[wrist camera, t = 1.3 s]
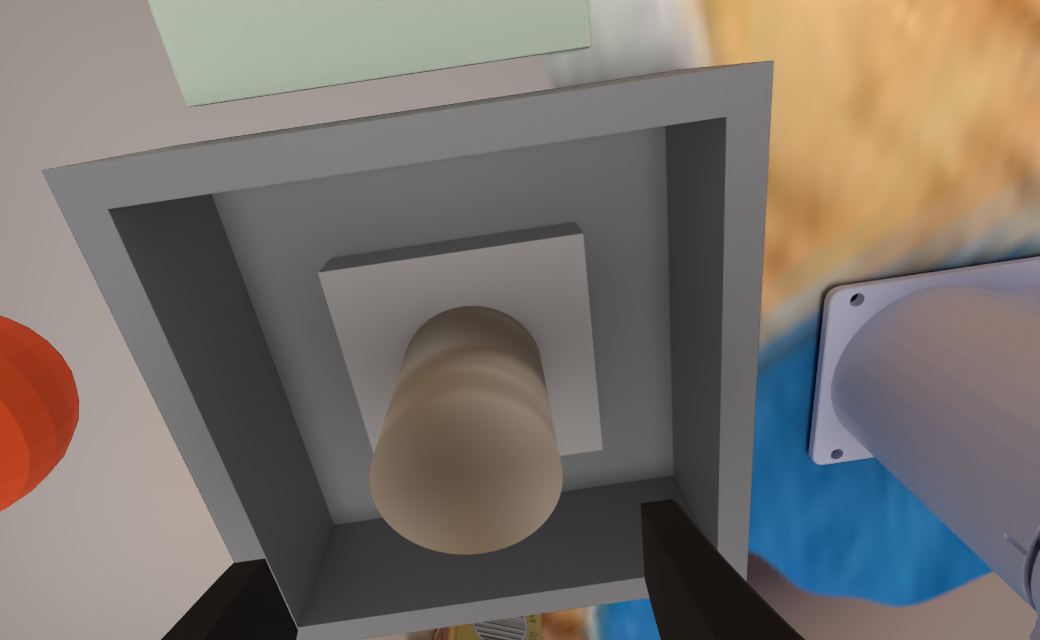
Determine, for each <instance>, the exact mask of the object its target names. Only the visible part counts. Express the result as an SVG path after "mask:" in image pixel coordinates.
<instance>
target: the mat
mask: <svg viewBox="0 0 1040 640" xmlns="http://www.w3.org/2000/svg"><path fill="white" fill-rule="evenodd" d="M148 2H149V5H150V8H151V10H152V13H153V16H154V19H155V22H156V24H157V27H158V30H159V32H160V35H161V38H162V40H163V43H164V46H165V49H166V52H167V54H168V57H169V60H170V62H171V65H172V68H173V71H174V73H175V76H176V79H177V82H178V84H179V87H180V90H181V93H182V95H183V98H184V101H185V104H186V106H187V107H192V106H201V105H208V104H214V103H221V102H227V101H235V100H241V99H248V98H255V97H261V96H268V95H274V94H281V93H288V92H295V91H301V90H308V89H314V88H321V87H328V86H335V85H341V84H348V83H355V82H360V81H367V80H374V79H381V78H388V77H394V76H401V75H408V74H414V73H420V72H428V71H434V70H441V69H448V68H454V67H461V66H467V65H474V64H481V63H487V62H494V61H501V60H508V59H514V58H521V57H528V56H534V55H541V54H548V53H554V52H561V51H568V50H574V49H581V48H588V47H590V46H591V34H590V20H589V7H588V0H148Z"/></svg>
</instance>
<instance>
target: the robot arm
mask: <svg viewBox="0 0 1040 640" xmlns="http://www.w3.org/2000/svg"><path fill="white" fill-rule="evenodd" d="M857 293H858V296H857V298H856V299H855V300H854V301H853V302H850V300H851V297H852V296H853V295H854V294H857ZM836 449H837V450H836ZM834 450H836V451H835V452H833V451H834ZM832 452H833V453H832ZM809 456H810V458H811V459H812V460H813V461H814V462H815V463H816V464H819V465H824V464H831V463H838V462H845V461H852V460H859V459H866V458H872V457H875V458H876V459H877V460H878V461H879V462H880V463H881V464H882V465H883V466H884V467H885V468H887V469H888V470H889V471H890V472H891V473H892V474H893V475H894V476H895V477H896V478H897V479H898V480H899V481H900V482H901V483H902V484H903V485H904V486H905V487H906V488H907V489H908V490H910V491H911V492H912V493H913V494H914V495H915V496H916V497H917V498H918V499H919V500H920V501H921V502H922V503H923V504H924V505H925V506H926V507H927V508H928V509H929V510H930V511H931V512H933V513H934V514H935V515H936V516H937V517H938V518H939V519H940V520H941V521H942V522H943V523H944V524H945V525H946V526H947V527H948V528H949V529H950V530H951V531H952V532H953V533H954V534H956V535H957V536H958V537H959V538H960V539H961V540H962V541H963V542H964V543H965V544H966V545H967V546H968V547H969V548H970V549H971V550H972V551H973V552H974V553H975V554H976V555H977V556H979V557H980V558H981V559H982V560H983V561H984V562H985V563H986V564H987V565H988V566H989V567H990V568H991V569H992V570H993V571H994V572H995V573H996V574H997V575H999V576H1000V577H1001V578H1002V579H1003V580H1004V581H1005V582H1006V583H1007V584H1008V585H1009V586H1010V587H1011V588H1012V589H1013V590H1014V591H1015V592H1016V593H1017V594H1018V595H1019V596H1020V597H1022V599H1024V600H1025V601H1026V602H1027V603H1028V604H1029V605H1030V606H1031V607H1032V608H1033V609H1034V610H1035V611H1036V612H1037V614H1038V619H1037V622H1036V626H1035V628H1034V630H1033V632H1032V633H1031V635H1030V640H1040V256H1038V257H1032V258H1025V259H1018V260H1011V261H1004V262H998V263H991V264H984V265H977V266H971V267H964V268H957V269H950V270H943V271H937V272H930V273H923V274H916V275H910V276H903V277H896V278H889V279H882V280H876V281H869V282H862V283H855V284H849V285H842V286H837V287H834V288H833V289H831V290H830V291H829V292H828V294H827V295H826V297H825V301H824V310H823V320H822V329H821V339H820V349H819V358H818V368H817V377H816V387H815V396H814V406H813V415H812V425H811V434H810V444H809ZM640 505H641V523H642V540H643V557H644V575H645V583H646V586H647V590H648V594H649V598H650V602H651V605H652V609H653V613H654V616H655V620H656V624H657V627H658V631H659V635H660V638H661V640H805V639H804V638H803V637H802V636H800V635H799V634H798V633H797V632H796V631H795V630H794V629H793V628H792V627H791V626H790V625H789V624H788V623H787V622H786V621H785V620H784V619H783V618H782V617H781V616H779V614H778V613H777V612H775V610H774V609H773V608H772V607H771V606H770V605H768V604H767V602H766V601H764V600H763V599H762V598H761V596H760V595H759V594H758V593H757V592H756V591H755V590H754V589H753V588H752V587H751V586H750V585H749V584H748V583H747V582H746V581H745V580H744V579H743V578H742V577H741V575H740V574H739V573H738V572H737V571H736V570H735V569H734V568H733V567H732V566H731V565H730V564H729V563H728V561H727V560H726V559H725V558H724V557H723V556H722V555H721V554H720V553H719V551H718V550H717V549H716V548H715V547H714V546H713V545H712V543H711V542H710V541H709V540H708V539H707V538H706V537H705V535H704V534H703V533H702V532H701V531H700V530H699V528H698V527H697V526H696V525H695V523H694V522H693V521H692V520H691V519H690V517H689V516H688V515H687V514H686V512H685V511H684V510H683V509H682V507H681V506H680V505H679V503H678V502H676V501H675V500H673V499H667V500H660V501H654V502H647V503H640ZM297 634H298V629H297V627H296V625H295V623H294V620H293V618H292V616H291V614H290V612H289V609H288V607H287V605H286V603H285V601H284V598H283V596H282V594H281V592H280V590H279V588H278V585H277V583H276V581H275V579H274V577H273V574H272V572H271V570H270V568H269V566H268V563H267V561H266V559H265V558H264V559H257V560H250V561H243V562H237V563H233V564H232V565H231V566H230V567H229V568H228V569H227V570H226V571H225V572H224V573H223V574H222V575H221V576H220V577H219V578H218V579H217V580H216V582H215V583H214V584H213V585H212V586H211V587H210V588H209V589H208V590H207V591H206V592H205V593H204V594H203V596H201V598H200V599H199V600H198V601H197V602H196V603H195V604H194V605H193V606H192V607H191V608H190V610H189V611H187V613H186V614H185V615H184V616H183V617H182V618H181V619H180V620H179V621H178V622H177V623H176V624H175V625H174V627H173V628H172V629H171V630H170V631H169V632H168V633H167V634H166V635H165V636H164V637H163V638H162V639H161V640H296V639H297Z"/></svg>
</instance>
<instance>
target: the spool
mask: <svg viewBox="0 0 1040 640" xmlns="http://www.w3.org/2000/svg"><path fill="white" fill-rule="evenodd" d="M369 483H370V491H371V495H372V498H373V501H374V503H375V506H376V508H377V509H378V511H379V513H380V514H381V516H382V517H383V518H384V520H385V521H386V522H387V523H388V524H389V525H390V526H391V527H392V528H393V529H394V530H395V531H396V532H398V533H399V534H400V535H402V536H403V537H405V538H406V539H408V540H410V541H412V542H413V543H415V544H418V545H420V546H422V547H425V548H428V549H431V550H434V551H438V552H443V553H449V554H459V555H471V554H482V553H487V552H493V551H497V550H500V549H503V548H506V547H509V546H511V545H513V544H516V543H518V542H519V541H521V540H523V539H525V538H526V537H528V536H529V535H531V534H532V533H534V532H535V531H536V530H537V529H538V528H539V527H540V526H542V525H543V523H544V522H545V521H546V520H547V519H548V518H549V516H550V515H551V513H552V512H553V510H554V509H555V507H556V504H557V502H558V500H559V497H560V494H561V490H562V483H563V472H562V465H561V460H560V455H559V449H558V444H557V439H556V434H555V429H554V424H553V419H552V413H551V408H550V403H549V398H548V393H547V388H546V382H545V377H544V372H543V367H542V362H541V357H540V352H539V349H538V347H537V344H536V342H535V340H534V338H533V337H532V335H531V334H530V333H529V331H528V330H527V329H526V328H525V327H524V326H523V325H522V324H521V323H520V322H518V321H517V320H516V319H514V318H513V317H511V316H509V315H508V314H506V313H503V312H501V311H499V310H495V309H492V308H488V307H481V306H464V307H457V308H453V309H449V310H446V311H444V312H441V313H439V314H437V315H435V316H434V317H432V318H431V319H429V320H428V321H426V322H425V323H424V324H423V325H422V326H421V327H420V328H419V329H418V330H417V331H416V333H415V334H414V336H413V337H412V339H411V340H410V342H409V345H408V347H407V350H406V353H405V356H404V359H403V363H402V366H401V369H400V372H399V375H398V379H397V382H396V385H395V388H394V391H393V394H392V398H391V401H390V404H389V407H388V410H387V414H386V417H385V420H384V423H383V426H382V430H381V433H380V436H379V439H378V442H377V446H376V449H375V452H374V455H373V459H372V462H371V466H370V474H369Z"/></svg>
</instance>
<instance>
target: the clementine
mask: <svg viewBox="0 0 1040 640" xmlns="http://www.w3.org/2000/svg"><path fill="white" fill-rule="evenodd" d="M78 419H79V398H78V393H77V388H76V384H75V381H74V378H73V375H72V371H71V370H70V368H69V367H68V365H67V364H66V362H65V360H64V359H63V357H62V356H61V354H59V352H58V351H57V350H56V349H55V348H54V347H53V346H52V345H51V344H50V343H49V342H48V341H47V340H45V339H44V338H42V337H41V336H40V335H38V334H37V333H35V332H34V331H33V330H31V329H30V328H28V327H26V326H23V325H21V324H19V323H17V322H15V321H13V320H10V319H8V318H5V317H2V316H0V511H2V510H4V509H6V508H7V507H9V506H10V505H12V504H13V503H14V502H16V501H17V500H19V499H20V498H22V497H24V496H25V495H26V494H28V493H29V492H31V491H32V490H33V489H34V488H35V487H36V486H37V485H38V484H39V483H40V482H41V481H42V480H43V479H44V478H45V477H46V476H47V475H48V474H49V473H50V472H51V471H52V470H53V468H54V467H55V466H56V465H57V464H58V462H59V461H60V460H61V459H62V458H63V457H64V455H65V453H66V450H67V448H68V446H69V443H70V441H71V439H72V436H73V433H74V431H75V428H76V425H77V422H78Z"/></svg>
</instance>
